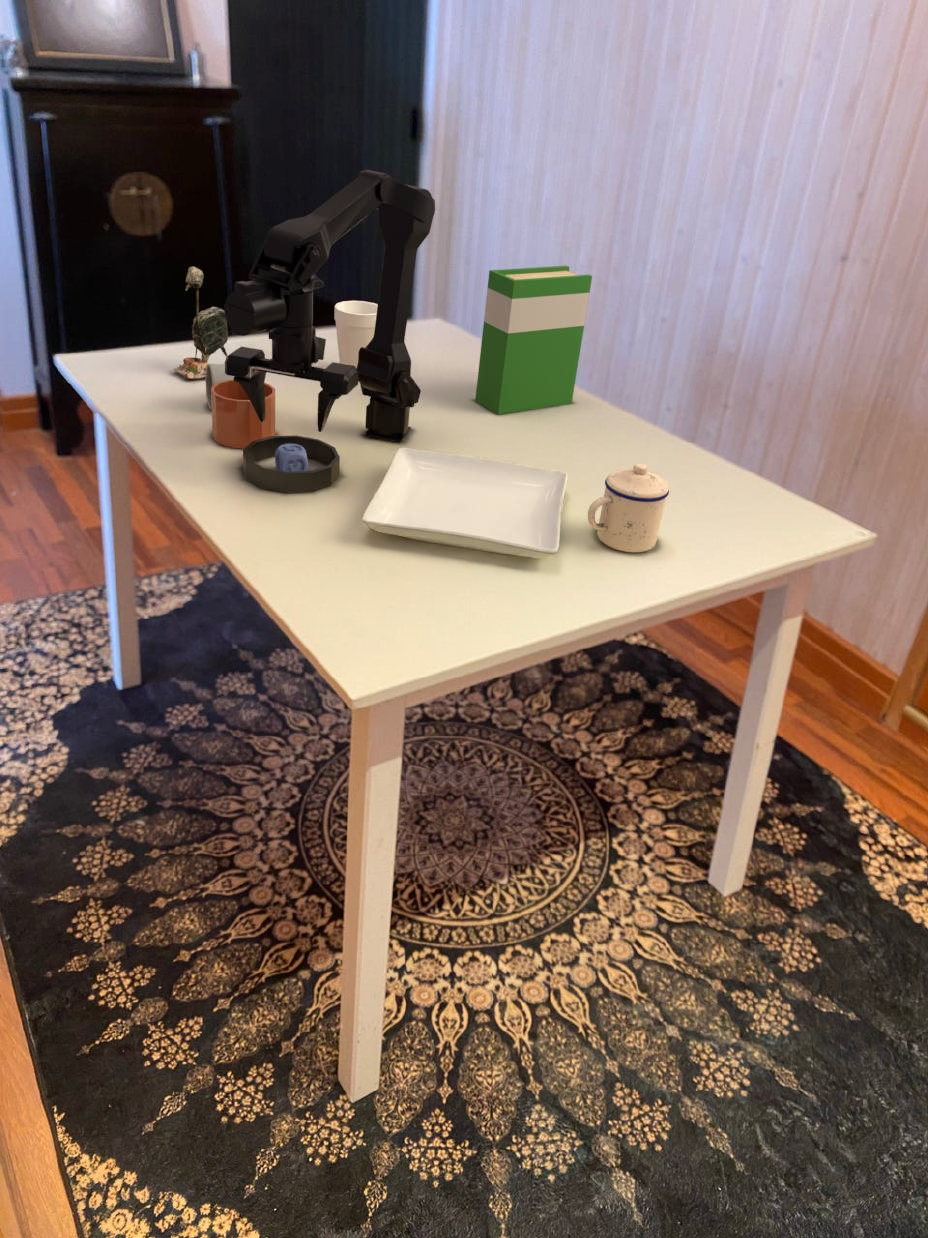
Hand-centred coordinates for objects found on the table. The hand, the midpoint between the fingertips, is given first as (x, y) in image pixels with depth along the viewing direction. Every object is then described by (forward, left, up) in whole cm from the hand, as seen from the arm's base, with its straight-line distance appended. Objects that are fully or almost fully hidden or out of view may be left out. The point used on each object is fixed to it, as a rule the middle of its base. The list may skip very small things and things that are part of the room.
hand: (291, 425), depth 152 cm
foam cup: (+5, -48, -8) cm, 49 cm away
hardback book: (-28, -49, -8) cm, 57 cm away
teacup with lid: (-51, +2, -8) cm, 52 cm away
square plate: (-29, +3, -8) cm, 30 cm away
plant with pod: (+31, -35, -8) cm, 47 cm away
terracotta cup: (+12, -10, -8) cm, 17 cm away
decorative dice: (0, 0, -8) cm, 8 cm away
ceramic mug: (+20, -22, -8) cm, 31 cm away
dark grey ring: (0, 0, -8) cm, 8 cm away
